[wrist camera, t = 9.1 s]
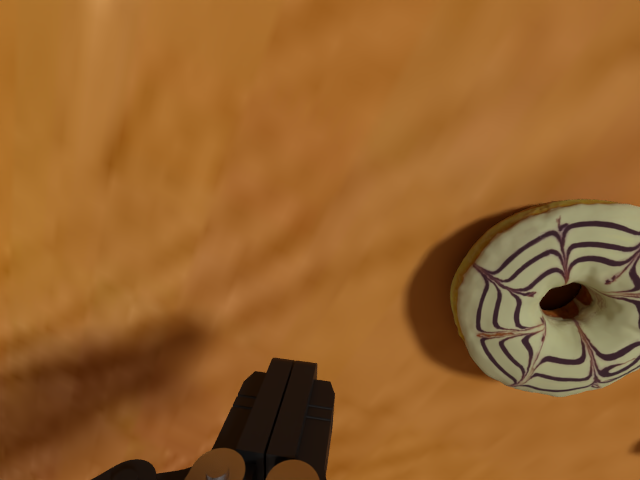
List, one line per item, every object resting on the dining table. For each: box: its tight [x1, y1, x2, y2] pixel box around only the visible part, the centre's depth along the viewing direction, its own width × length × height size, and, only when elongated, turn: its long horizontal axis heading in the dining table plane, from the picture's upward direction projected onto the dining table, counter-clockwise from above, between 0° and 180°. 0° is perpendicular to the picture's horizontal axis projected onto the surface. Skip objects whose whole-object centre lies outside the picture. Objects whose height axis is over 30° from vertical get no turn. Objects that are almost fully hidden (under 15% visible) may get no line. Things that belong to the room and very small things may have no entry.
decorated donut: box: [450, 199, 640, 397], centre depth 19 cm, size 10×11×4 cm
